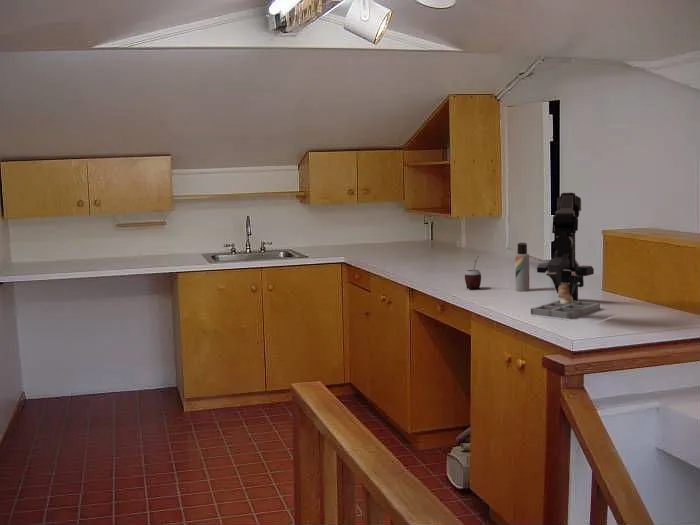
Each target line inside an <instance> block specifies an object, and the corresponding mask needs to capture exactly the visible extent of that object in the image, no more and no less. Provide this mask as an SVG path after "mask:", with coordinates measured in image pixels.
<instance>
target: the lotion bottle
mask: <svg viewBox="0 0 700 525" xmlns="http://www.w3.org/2000/svg"><path fill="white" fill-rule="evenodd" d="M514 257H515V259H514V262H515V271H514V274H515V291H516V292H528V291H530V254H528V243H526V242H518V243H517V252H516V254H515V256H514Z"/></svg>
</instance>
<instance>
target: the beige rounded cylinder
mask: <svg viewBox="0 0 700 525" xmlns="http://www.w3.org/2000/svg"><path fill="white" fill-rule="evenodd" d="M559 300H560V303H564V304H572V303H573V298H572V297H571V298H559Z"/></svg>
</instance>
